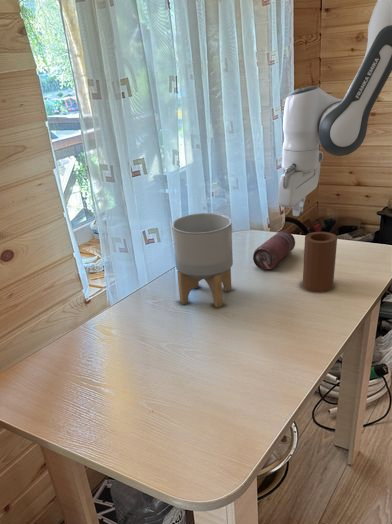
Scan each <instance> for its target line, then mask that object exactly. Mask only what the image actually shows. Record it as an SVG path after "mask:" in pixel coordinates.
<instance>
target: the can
mask: <svg viewBox="0 0 392 524" xmlns="http://www.w3.org/2000/svg"><path fill="white" fill-rule="evenodd" d="M295 247H296V239H295V237H294V235H293V234H292V233H291V232H290V231H288V230H280V231H278V232H277V233H275V234H274V235H272V236H271V237H270V238H269V239H267V240H265V242H264V243H261V244H260V245H259V246H258V247H257V248H255V250H254V252H253V255H252V259H253V263H254V265H255V266H256V267H257V268H259V269H260V270H272V269H273V268H275V267H276V266H277V264H278V263H279V262H280V261H281V260H283V259H284V258H285V257H286V256H287V255H288V254H290V253H291V252H292V251H293V250H294V249H295Z"/></svg>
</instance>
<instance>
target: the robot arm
mask: <svg viewBox="0 0 392 524" xmlns="http://www.w3.org/2000/svg"><path fill="white" fill-rule="evenodd" d="M374 5H375V6H374V7H373V11H372V13H371V16H370V19H369V22H368V25H367V45H366V49H365V54H364V57H363V59H362V62H361V64H360V67H359V68H358V70H357V72H356V74H355V76H354V78H353V80H352V82H351V84H350V85H349V88H348V89H347V92H346V93H345V96H344V97H343V99H342V98H338V97H336V96H333V95H331V94H329V93H328V92H326V91H325V90H322V89H321V88H320V86H317V85H308V86H303V87H300V88H297V89H294V90H293V91H291V92H290V93H289V94H288V95H287V97H286V99H285V102H284V108H283V117H282V118H283V120H282V121H283V122H282V131H283V136H284V139H283V143H282V154H281V155H282V156H281V168H282V169H283V170H284V173H283V174H281V175H280V178H279V181H278V191H277V205H278V207H279V208H286V209H287V208H289V209H291V208H292V216H293V217H299V216H301V214H303V212H304V206H305V203H306V198H307V196H308V195H309V194H310V193H312V192H313V191H314V190H315V189H317V187H318V185H319V180H320V174H321V163H322V161H323V159H324V153H323V151H320V145H321V147H322V148H323V150H324V151H325V152H327V153H328V154H330V155H332V156H337V157H343V156H344V157H345V156H348V155H351V154H352V153H354V152H356V151H357V150H358V149H359V148H360V147H361V146H362V144H363V143H364V141H365V138H366V136H367V131H368V124H369V118H370V114H371V111H372V109H373V107H374V105H375V103H376V101H377V99H378V98H379V96H380V94H381V92H382V90H383V88H384V87H385V84H386V83H387V81H388V79H389V77H390V75H391V74H392V0H376V2H375V4H374Z"/></svg>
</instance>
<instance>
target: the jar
mask: <svg viewBox="0 0 392 524" xmlns="http://www.w3.org/2000/svg"><path fill="white" fill-rule="evenodd" d="M337 245H338V236H337V235H336V234H335V233H332V232H328V231H314V232H309V233H307V234H306V235H304V247H303V268H302V288H303V289H305V290H306V291H309V292H313V293H324V292H328V291H330V290H332V289H333V287H334V280H335V271H336V270H335V269H336V257H337V256H336V255H337V247H338V246H337Z"/></svg>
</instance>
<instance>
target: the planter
mask: <svg viewBox="0 0 392 524" xmlns="http://www.w3.org/2000/svg"><path fill="white" fill-rule="evenodd" d="M232 223H233V222H232V219H231V218H230V217H229V216H227V215H224V214H220V213H214V212H213V213H212V212H201V213H193V214H188V215H183V216H181V217H179V218H176V219H175V220H173V222H172V223H171V230H172V231H171V232H172V240H173V241H172V242H173V251H174V253H173V254H174V264H175V268H176V270H177V281H178V282H177V283H178V292H179V303H181V304H182V305H186V304H188V303H189V296H190V293H191V291H192V289H193V290H195V289H197V288H200V286H199V285H200V282H201V281H202V280H204V281H205V282H206V283H207V285H208V288H209V290H210V292H211V295H212V299H213V306H214V307H216V308H220V307H223V306H224V305H223V304H224V303H223V290H224V291H225V292H229V291H232V267H233V264H234V258H233V255H234V253H233V228H232V227H233V226H232Z"/></svg>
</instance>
